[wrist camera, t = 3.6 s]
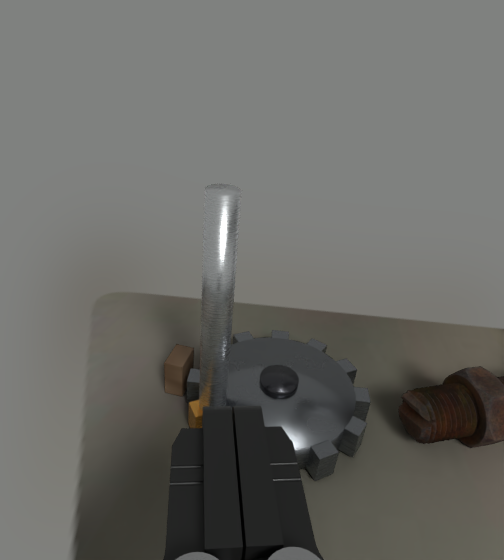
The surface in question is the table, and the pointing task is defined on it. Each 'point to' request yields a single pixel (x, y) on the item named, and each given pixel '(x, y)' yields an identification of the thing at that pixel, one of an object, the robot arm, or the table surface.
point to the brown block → (178, 369)
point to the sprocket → (269, 360)
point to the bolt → (457, 409)
